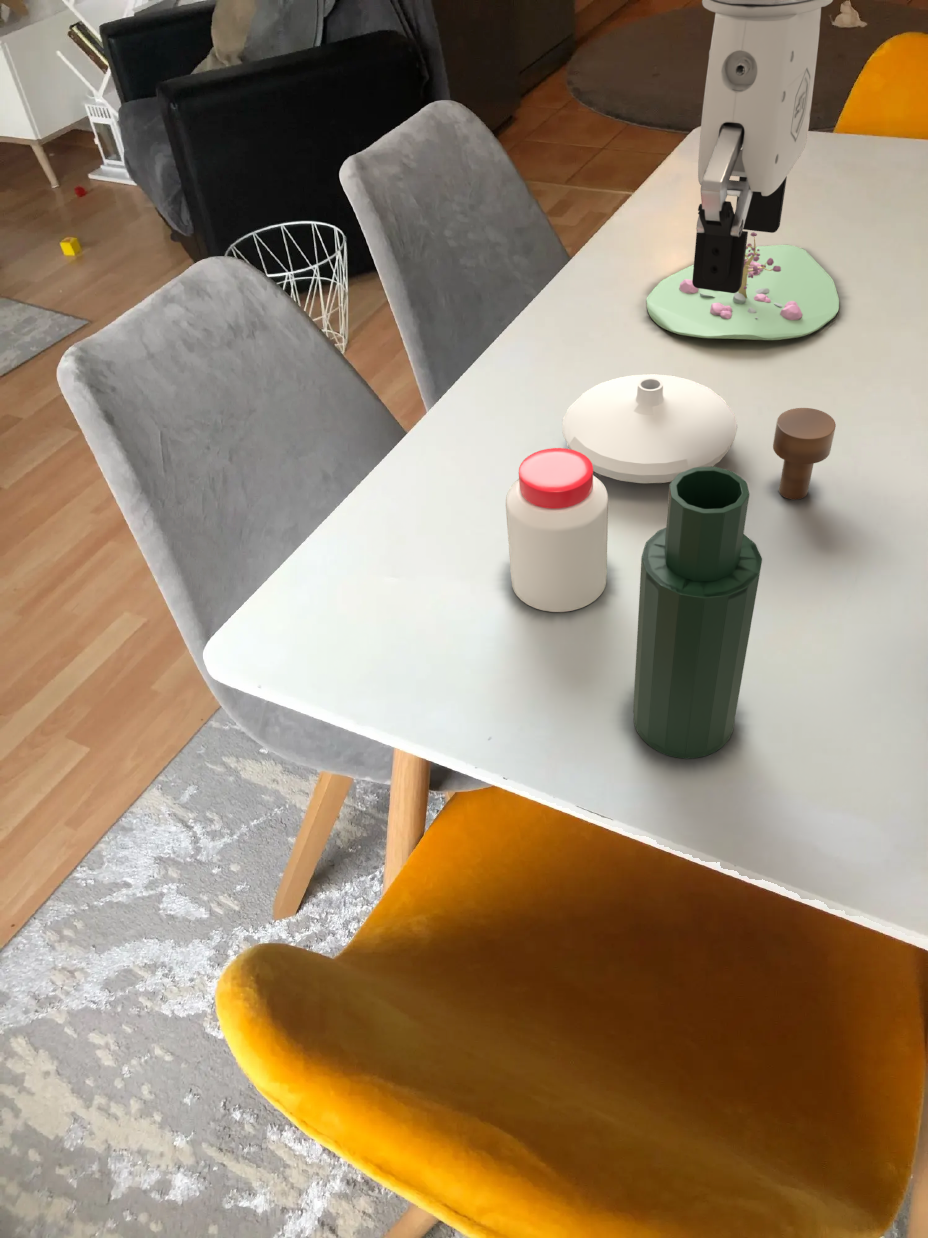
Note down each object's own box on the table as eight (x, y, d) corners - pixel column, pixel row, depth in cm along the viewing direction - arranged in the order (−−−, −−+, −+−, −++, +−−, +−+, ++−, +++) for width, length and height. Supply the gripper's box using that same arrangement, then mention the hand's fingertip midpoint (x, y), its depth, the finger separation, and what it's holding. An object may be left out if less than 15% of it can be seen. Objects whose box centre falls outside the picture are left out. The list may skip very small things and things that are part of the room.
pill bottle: (577, 625, 74) (576, 513, 67) (493, 592, 78) (483, 482, 70) (623, 566, 79) (627, 455, 71) (542, 537, 82) (537, 429, 74)
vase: (705, 519, 82) (712, 450, 77) (535, 481, 88) (532, 415, 83) (753, 420, 91) (763, 354, 86) (598, 392, 97) (598, 328, 92)
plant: (674, 242, 120) (679, 168, 114) (848, 253, 114) (863, 174, 108) (629, 341, 104) (632, 261, 98) (829, 360, 98) (846, 275, 92)
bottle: (754, 733, 65) (800, 500, 51) (671, 774, 64) (695, 544, 50) (694, 669, 70) (721, 439, 56) (614, 706, 68) (622, 478, 54)
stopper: (832, 496, 83) (848, 427, 78) (789, 514, 81) (802, 445, 76) (796, 469, 86) (809, 401, 81) (754, 486, 84) (765, 418, 80)
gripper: (799, 13, 49) (756, 323, 61) (868, -63, 59) (820, 214, 71) (658, 9, 52) (643, 306, 64) (747, -63, 62) (721, 203, 74)
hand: (737, 257), depth 68 cm, fingers open, 9 cm apart
